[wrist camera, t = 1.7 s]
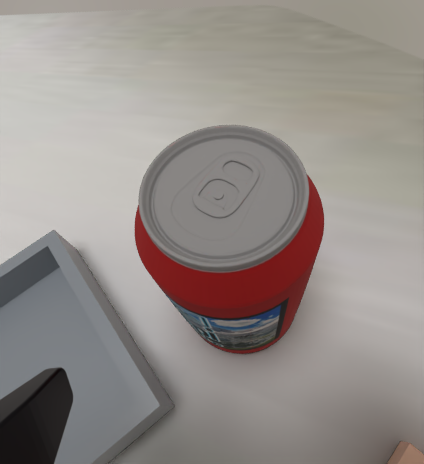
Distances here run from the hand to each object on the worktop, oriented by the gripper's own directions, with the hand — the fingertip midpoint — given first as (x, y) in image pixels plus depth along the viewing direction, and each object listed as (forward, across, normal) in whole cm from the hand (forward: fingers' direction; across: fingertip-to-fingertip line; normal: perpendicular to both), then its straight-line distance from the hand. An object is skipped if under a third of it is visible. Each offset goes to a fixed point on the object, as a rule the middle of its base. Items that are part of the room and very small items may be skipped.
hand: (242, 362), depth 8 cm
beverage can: (+12, 0, +5) cm, 13 cm away
